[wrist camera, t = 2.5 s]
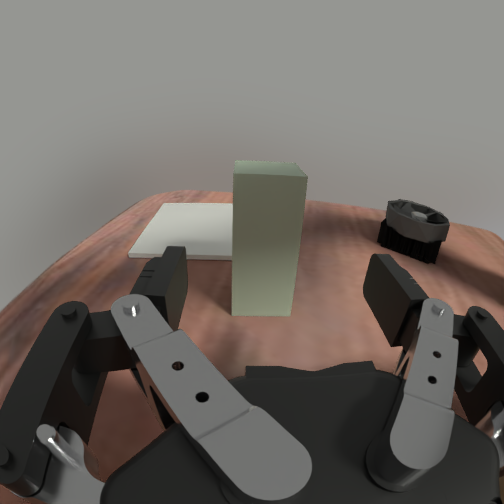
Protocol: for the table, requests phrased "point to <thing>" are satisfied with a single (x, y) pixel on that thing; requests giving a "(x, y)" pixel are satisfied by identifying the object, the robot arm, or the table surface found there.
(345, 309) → the table surface
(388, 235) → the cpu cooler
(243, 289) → the sage block
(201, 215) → the white mat
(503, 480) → the flower pot
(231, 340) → the table surface
